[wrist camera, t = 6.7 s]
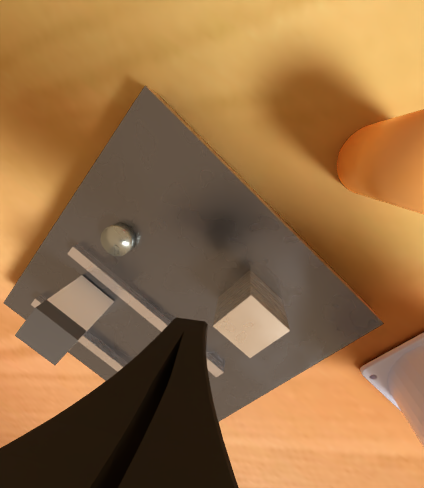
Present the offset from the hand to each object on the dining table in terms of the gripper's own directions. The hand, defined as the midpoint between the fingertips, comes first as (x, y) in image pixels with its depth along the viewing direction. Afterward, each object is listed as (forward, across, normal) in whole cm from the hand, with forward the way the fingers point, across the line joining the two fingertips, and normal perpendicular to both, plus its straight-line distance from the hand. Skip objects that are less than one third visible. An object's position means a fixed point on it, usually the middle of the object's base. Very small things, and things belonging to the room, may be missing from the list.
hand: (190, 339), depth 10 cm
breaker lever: (+6, +9, +4) cm, 12 cm away
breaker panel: (+8, +3, +4) cm, 10 cm away
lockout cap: (+8, -9, -7) cm, 14 cm away
